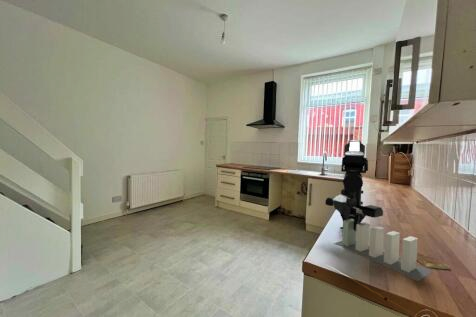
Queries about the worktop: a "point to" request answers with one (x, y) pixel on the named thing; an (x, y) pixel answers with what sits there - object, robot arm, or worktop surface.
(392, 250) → the ivory domino
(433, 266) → the shard
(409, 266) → the ivory domino
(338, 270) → the worktop surface
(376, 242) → the ivory domino
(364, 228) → the ivory domino
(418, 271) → the mat
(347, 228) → the sage domino
